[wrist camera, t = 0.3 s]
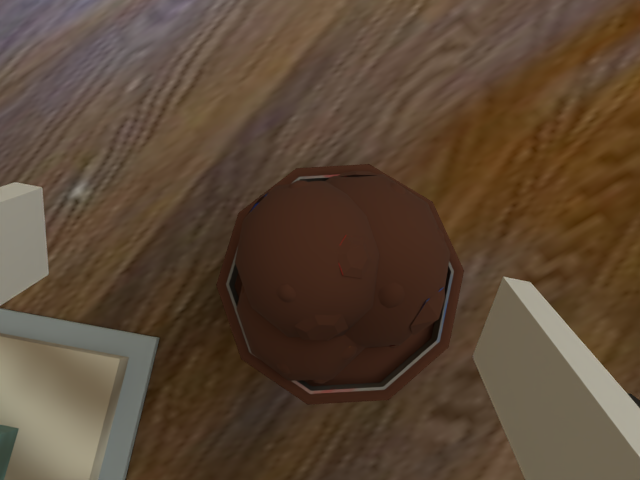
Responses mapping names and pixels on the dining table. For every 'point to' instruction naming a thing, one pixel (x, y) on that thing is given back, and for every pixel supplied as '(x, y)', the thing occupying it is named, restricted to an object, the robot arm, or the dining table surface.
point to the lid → (55, 409)
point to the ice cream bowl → (340, 284)
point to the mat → (106, 341)
